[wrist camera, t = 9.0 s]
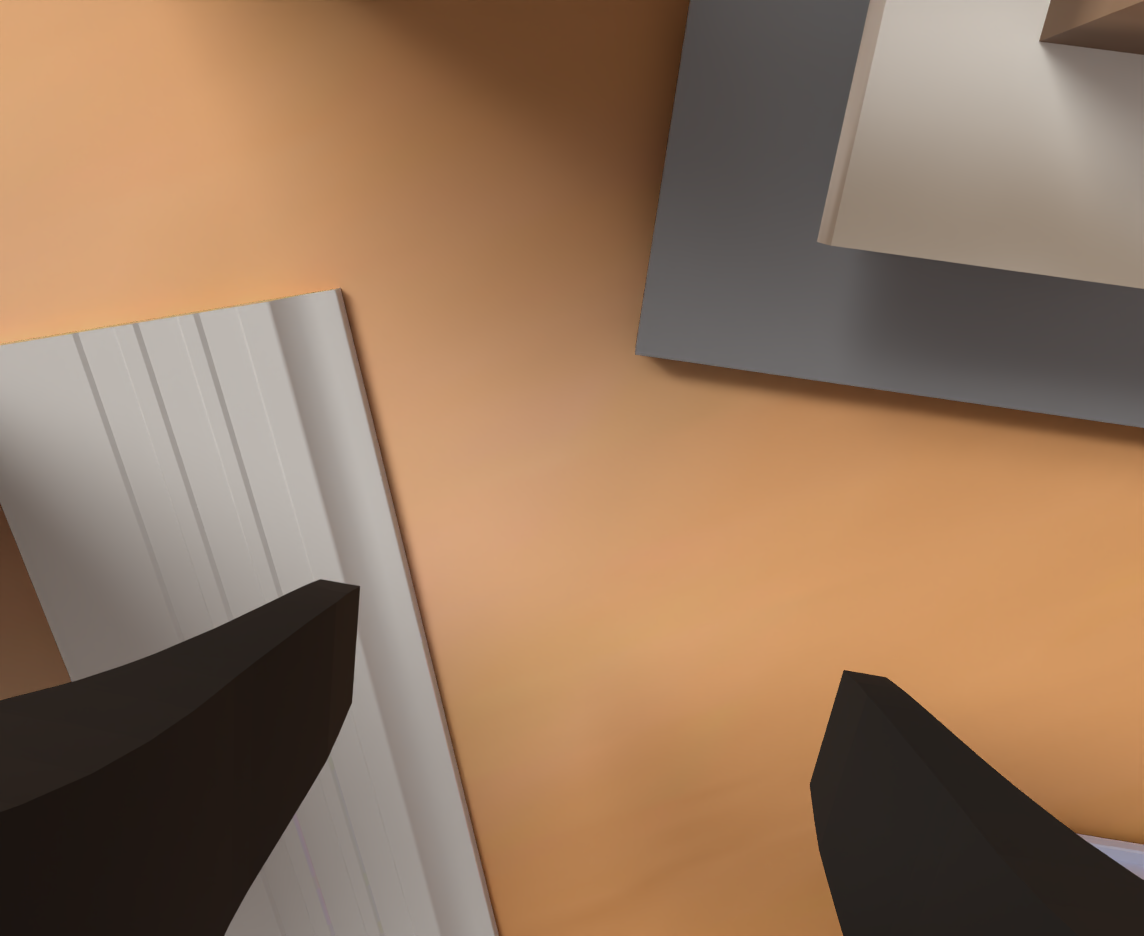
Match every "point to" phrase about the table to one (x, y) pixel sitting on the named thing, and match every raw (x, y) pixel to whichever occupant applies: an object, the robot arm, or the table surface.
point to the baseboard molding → (248, 574)
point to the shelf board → (997, 137)
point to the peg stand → (837, 274)
